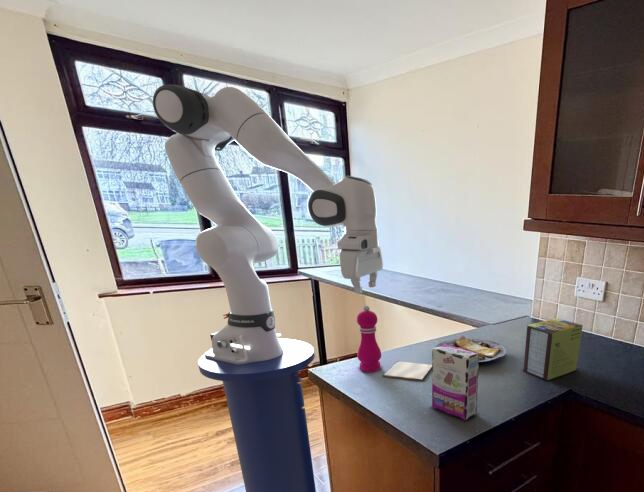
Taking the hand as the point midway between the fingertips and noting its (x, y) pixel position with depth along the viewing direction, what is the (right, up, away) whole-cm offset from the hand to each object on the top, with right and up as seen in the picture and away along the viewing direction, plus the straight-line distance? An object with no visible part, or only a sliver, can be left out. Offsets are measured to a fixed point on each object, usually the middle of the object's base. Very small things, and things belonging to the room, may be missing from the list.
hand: (365, 289), depth 118 cm
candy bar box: (+27, -34, -14) cm, 46 cm away
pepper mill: (-1, -23, +9) cm, 25 cm away
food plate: (+30, -18, +25) cm, 43 cm away
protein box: (+56, -24, +14) cm, 63 cm away
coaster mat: (+11, -24, +8) cm, 28 cm away
